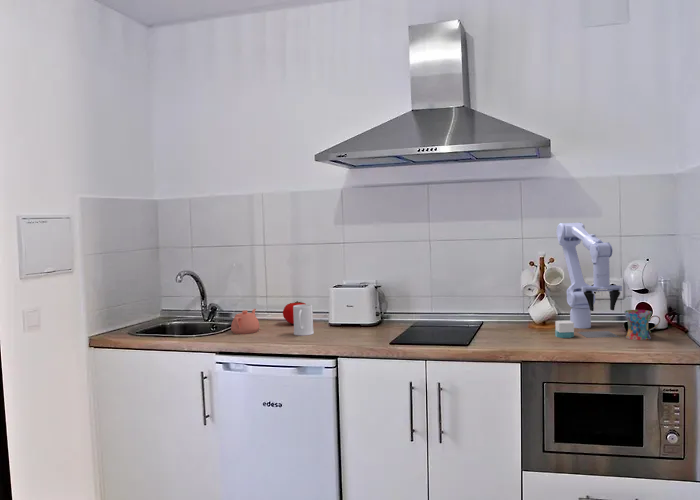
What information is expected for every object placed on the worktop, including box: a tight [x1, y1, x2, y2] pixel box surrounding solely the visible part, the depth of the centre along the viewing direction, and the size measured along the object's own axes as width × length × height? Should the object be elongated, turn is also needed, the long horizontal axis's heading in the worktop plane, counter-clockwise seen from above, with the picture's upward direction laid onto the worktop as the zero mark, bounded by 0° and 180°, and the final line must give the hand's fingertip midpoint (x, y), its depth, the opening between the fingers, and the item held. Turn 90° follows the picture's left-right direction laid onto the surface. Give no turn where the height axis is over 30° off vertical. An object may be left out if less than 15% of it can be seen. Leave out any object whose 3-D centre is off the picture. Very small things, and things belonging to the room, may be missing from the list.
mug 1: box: [293, 303, 315, 337], centre depth 276 cm, size 12×8×12 cm
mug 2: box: [623, 309, 661, 341], centre depth 239 cm, size 12×9×11 cm
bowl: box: [554, 329, 575, 339], centre depth 247 cm, size 6×6×3 cm
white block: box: [555, 320, 575, 333], centre depth 247 cm, size 5×5×3 cm
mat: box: [577, 330, 620, 339], centre depth 249 cm, size 12×12×1 cm
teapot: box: [230, 308, 261, 335], centre depth 288 cm, size 12×18×10 cm
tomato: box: [282, 300, 306, 325], centre depth 304 cm, size 13×12×11 cm
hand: (601, 310), depth 249 cm, fingers open, 7 cm apart
